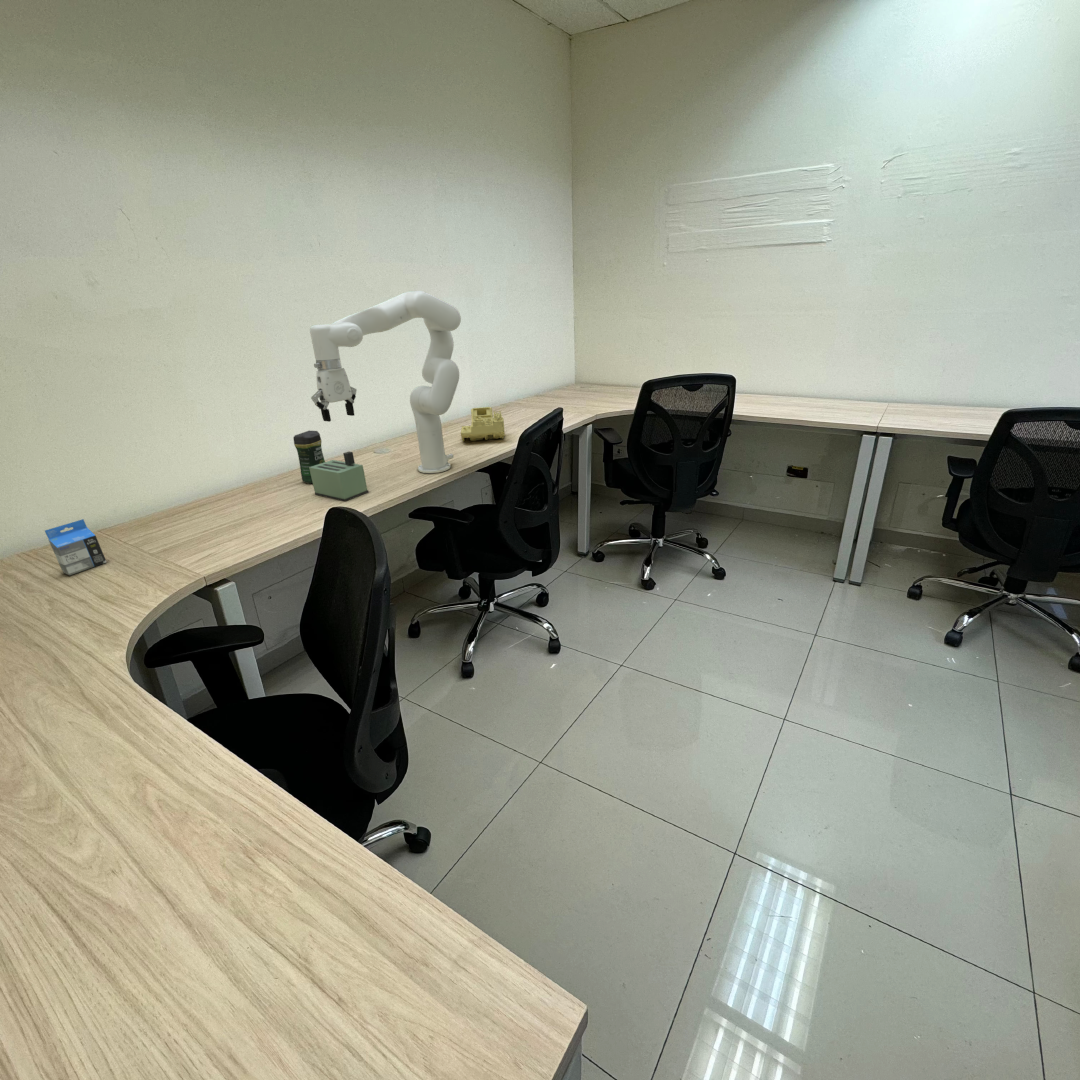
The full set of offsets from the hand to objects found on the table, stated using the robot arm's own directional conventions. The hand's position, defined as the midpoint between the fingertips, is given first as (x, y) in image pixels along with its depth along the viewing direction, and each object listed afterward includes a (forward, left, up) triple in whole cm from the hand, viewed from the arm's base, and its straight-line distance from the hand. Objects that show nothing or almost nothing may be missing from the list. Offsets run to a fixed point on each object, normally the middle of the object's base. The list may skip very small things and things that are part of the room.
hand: (339, 418), depth 185 cm
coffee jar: (-2, -24, -26) cm, 36 cm away
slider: (+1, +2, -15) cm, 16 cm away
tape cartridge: (+76, -18, -26) cm, 82 cm away
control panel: (-78, -3, -26) cm, 83 cm away
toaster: (+4, -2, -26) cm, 26 cm away
